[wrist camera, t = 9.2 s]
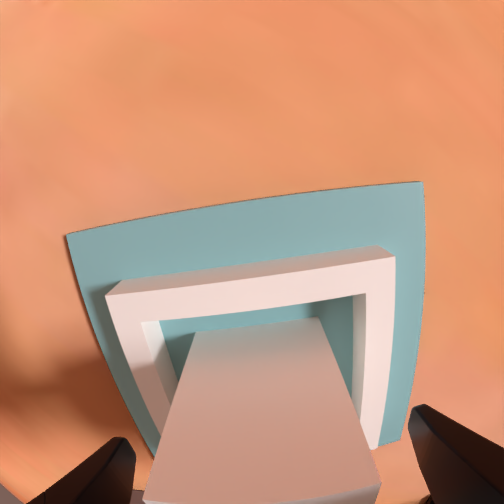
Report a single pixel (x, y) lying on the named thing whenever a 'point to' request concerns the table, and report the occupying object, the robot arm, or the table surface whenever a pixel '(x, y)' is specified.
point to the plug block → (262, 423)
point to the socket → (263, 291)
